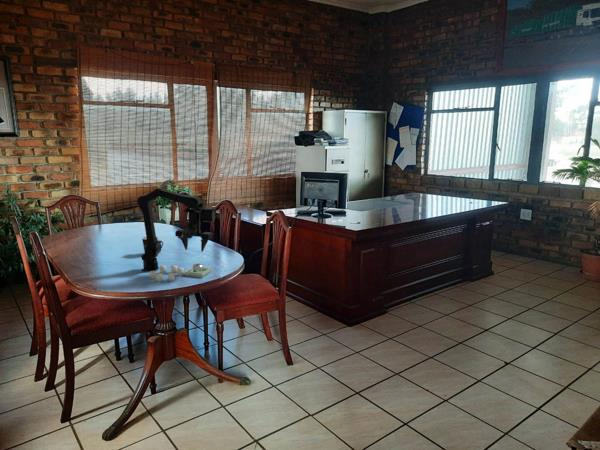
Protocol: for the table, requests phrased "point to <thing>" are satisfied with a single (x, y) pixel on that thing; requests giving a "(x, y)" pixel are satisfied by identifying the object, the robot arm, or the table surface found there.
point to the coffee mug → (146, 241)
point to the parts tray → (199, 275)
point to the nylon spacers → (163, 270)
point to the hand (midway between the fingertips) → (194, 250)
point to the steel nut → (198, 268)
